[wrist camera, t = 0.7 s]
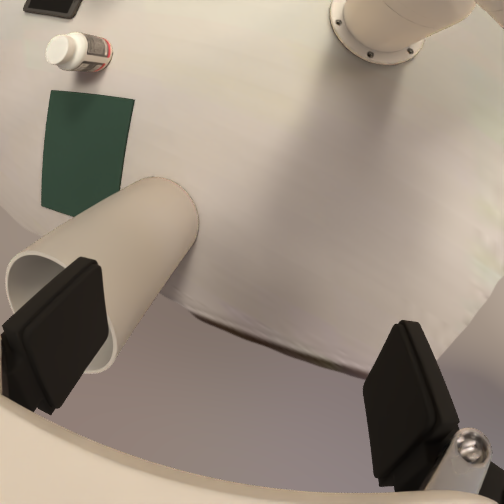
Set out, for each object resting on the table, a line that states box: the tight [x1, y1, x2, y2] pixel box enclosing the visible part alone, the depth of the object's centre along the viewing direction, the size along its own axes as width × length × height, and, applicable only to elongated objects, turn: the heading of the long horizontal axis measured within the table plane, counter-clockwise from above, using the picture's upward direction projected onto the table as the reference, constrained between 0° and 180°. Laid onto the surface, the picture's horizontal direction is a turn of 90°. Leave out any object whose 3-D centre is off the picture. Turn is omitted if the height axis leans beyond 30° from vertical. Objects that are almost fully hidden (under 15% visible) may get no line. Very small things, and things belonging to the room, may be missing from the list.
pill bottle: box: [46, 32, 112, 72], centre depth 31 cm, size 5×5×10 cm
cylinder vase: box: [5, 177, 199, 374], centre depth 34 cm, size 12×12×25 cm
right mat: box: [41, 90, 135, 217], centre depth 43 cm, size 20×16×1 cm
